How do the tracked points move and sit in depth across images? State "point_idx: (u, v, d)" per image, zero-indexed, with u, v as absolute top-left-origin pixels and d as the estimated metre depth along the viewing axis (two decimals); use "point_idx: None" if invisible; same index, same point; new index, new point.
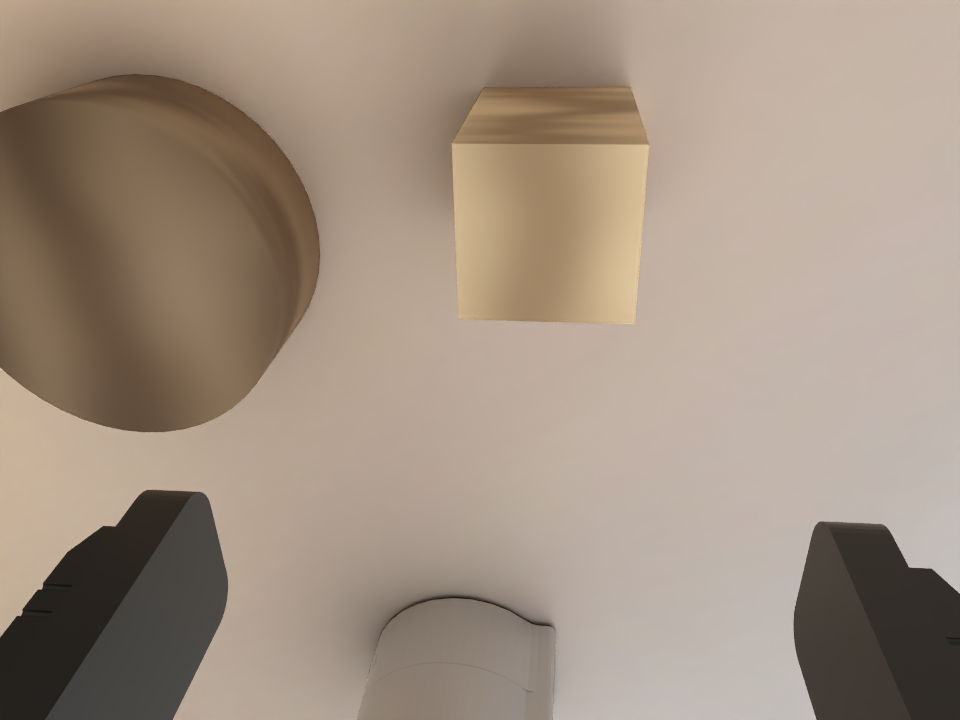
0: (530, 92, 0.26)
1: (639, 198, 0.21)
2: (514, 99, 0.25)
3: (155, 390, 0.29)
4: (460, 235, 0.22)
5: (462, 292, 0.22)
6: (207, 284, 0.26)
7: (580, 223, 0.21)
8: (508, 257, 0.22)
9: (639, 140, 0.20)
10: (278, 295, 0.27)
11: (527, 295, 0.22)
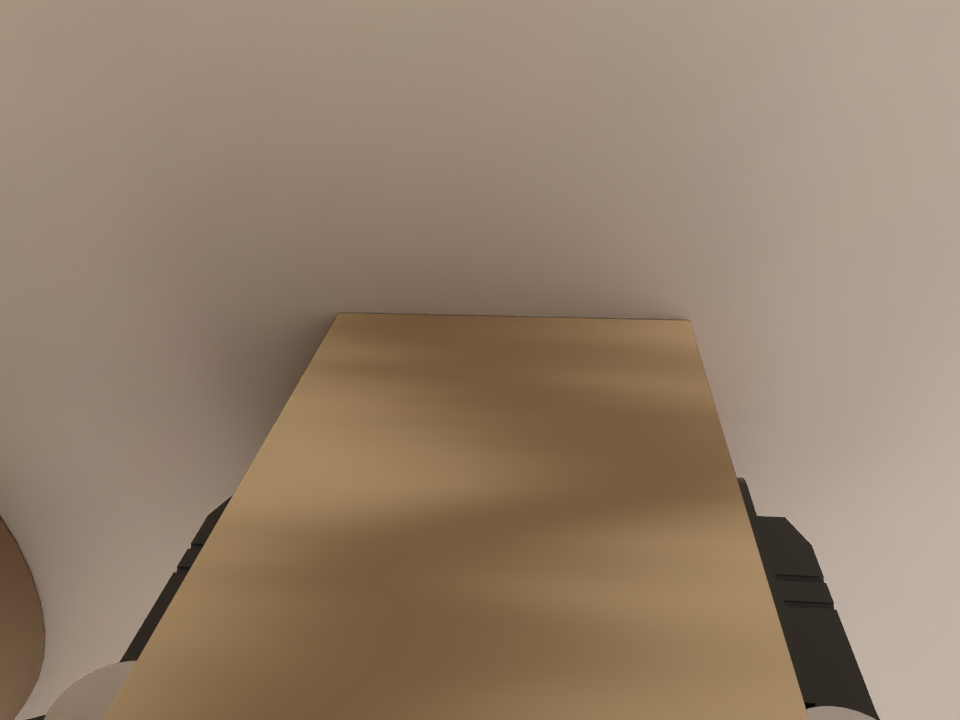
0: (443, 344, 0.11)
1: None
2: (392, 390, 0.10)
3: None
4: None
5: None
6: None
7: None
8: None
9: None
10: None
11: None
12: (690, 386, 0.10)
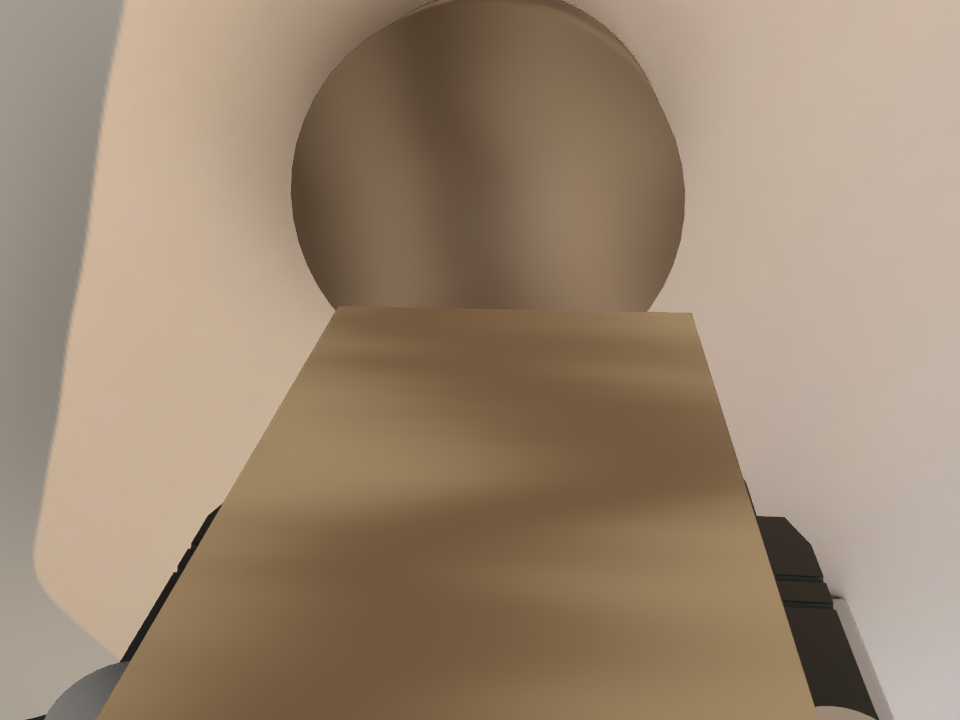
0: (443, 337, 0.11)
1: None
2: (393, 382, 0.10)
3: None
4: None
5: None
6: (604, 212, 0.24)
7: None
8: None
9: None
10: (681, 224, 0.24)
11: None
12: (693, 378, 0.09)
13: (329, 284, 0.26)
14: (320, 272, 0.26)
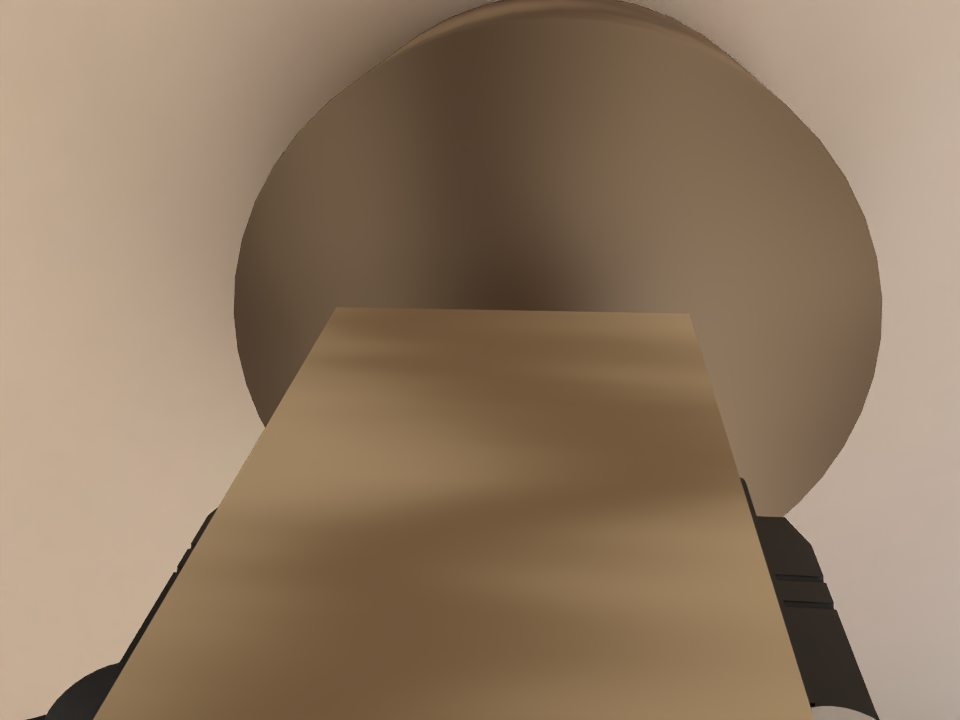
0: (441, 338, 0.11)
1: None
2: (390, 384, 0.10)
3: None
4: None
5: None
6: (742, 365, 0.15)
7: None
8: None
9: None
10: (864, 386, 0.15)
11: None
12: (690, 379, 0.09)
13: None
14: None
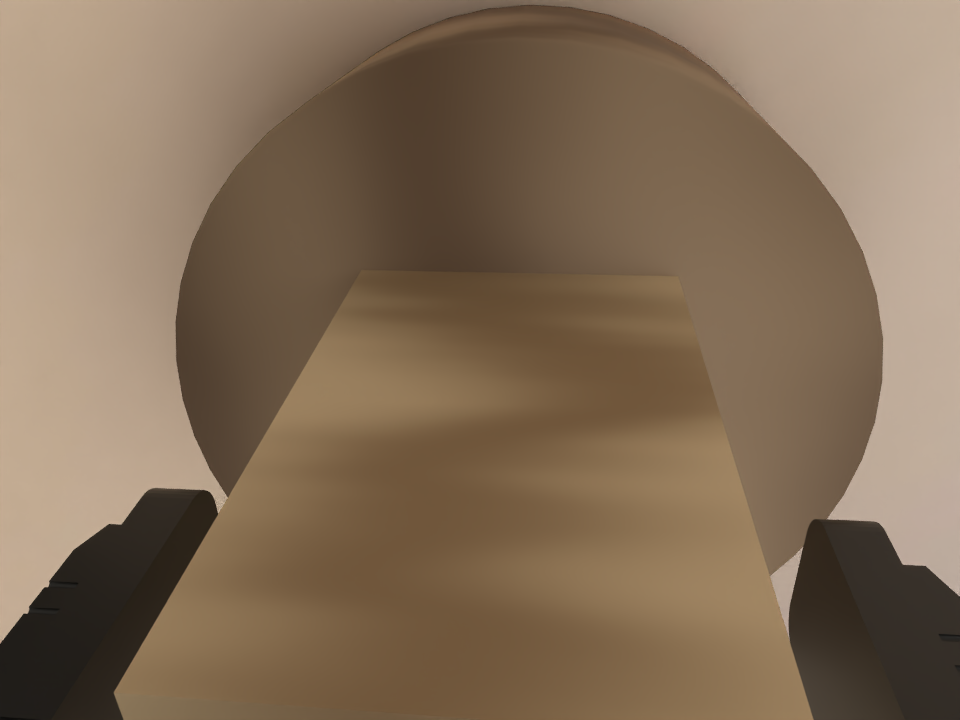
0: (456, 295, 0.12)
1: None
2: (413, 331, 0.11)
3: None
4: None
5: None
6: (730, 411, 0.13)
7: None
8: None
9: (771, 681, 0.06)
10: (864, 430, 0.14)
11: None
12: (677, 328, 0.11)
13: None
14: (232, 482, 0.15)
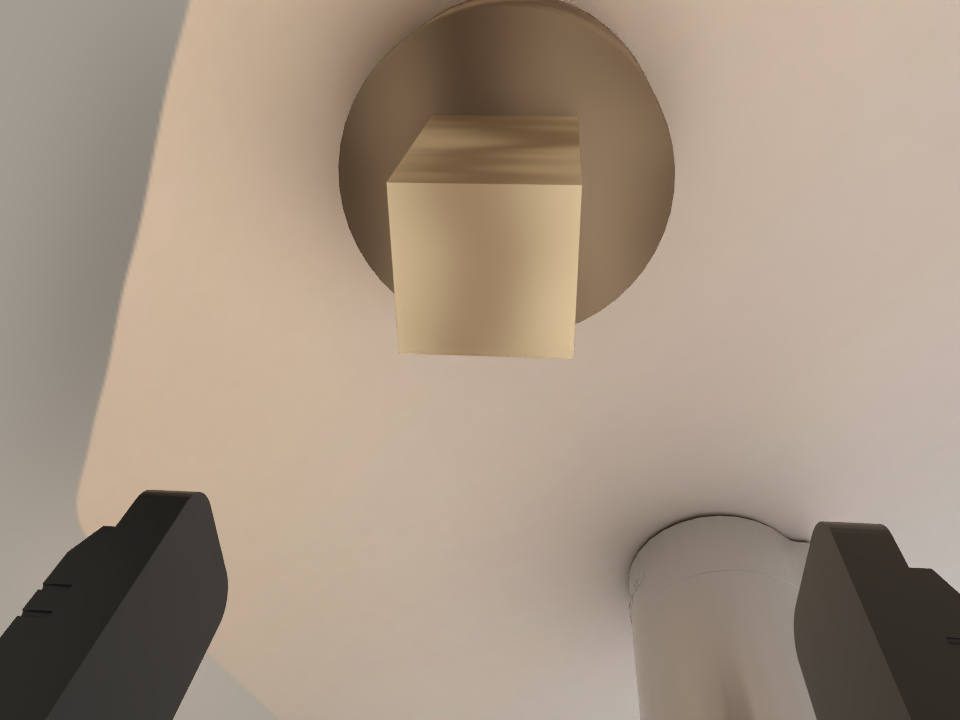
0: (477, 121, 0.26)
1: (574, 237, 0.21)
2: (459, 129, 0.25)
3: None
4: (398, 271, 0.22)
5: (402, 327, 0.22)
6: (606, 186, 0.28)
7: (516, 261, 0.21)
8: (446, 293, 0.22)
9: (573, 179, 0.20)
10: (671, 197, 0.28)
11: (466, 330, 0.22)
12: (571, 128, 0.25)
13: (368, 246, 0.30)
14: (360, 235, 0.30)
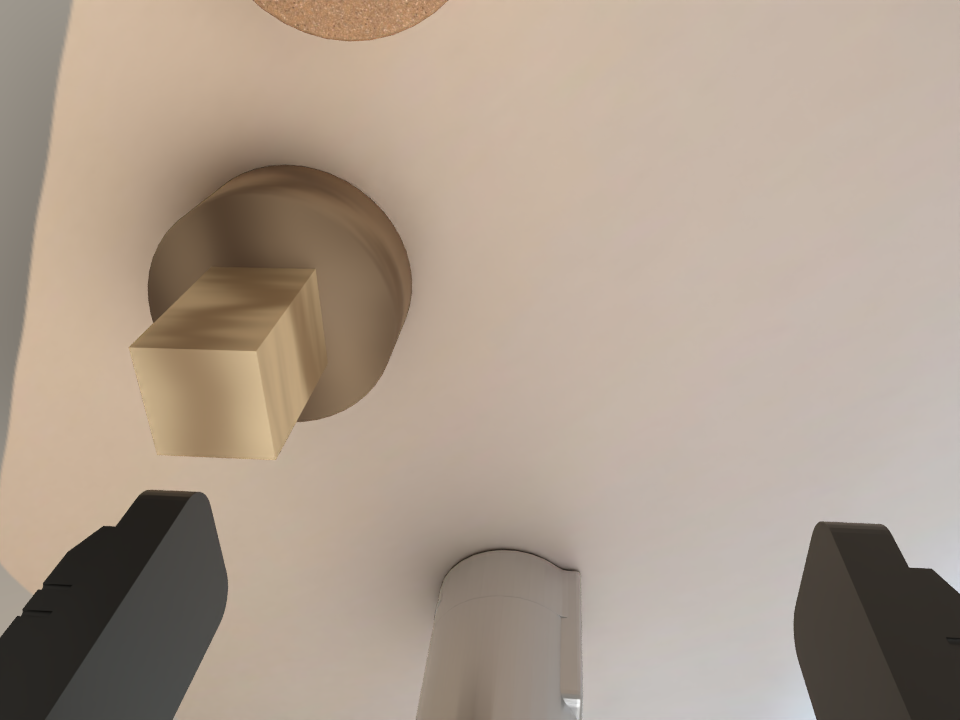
0: (238, 275, 0.36)
1: (258, 382, 0.30)
2: (218, 285, 0.35)
3: None
4: (147, 402, 0.31)
5: (156, 438, 0.32)
6: (344, 317, 0.38)
7: (223, 397, 0.31)
8: (181, 416, 0.31)
9: (255, 345, 0.30)
10: (394, 324, 0.38)
11: (200, 440, 0.32)
12: (299, 284, 0.35)
13: None
14: None
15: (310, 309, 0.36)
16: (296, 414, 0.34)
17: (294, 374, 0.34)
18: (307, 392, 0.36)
